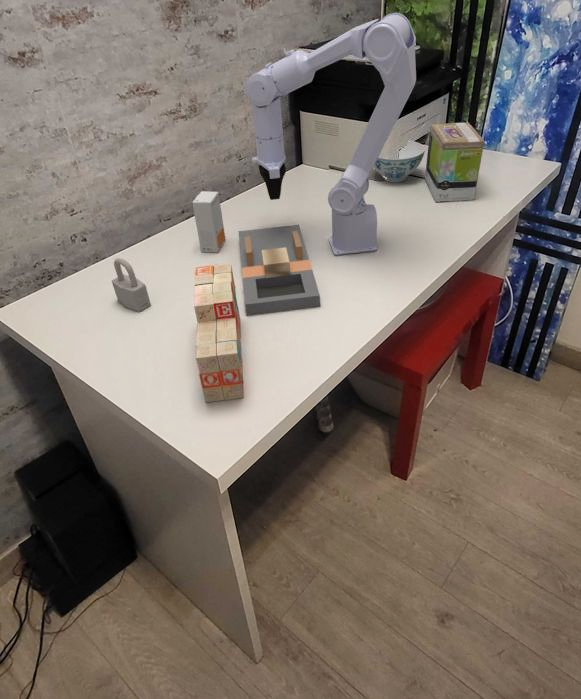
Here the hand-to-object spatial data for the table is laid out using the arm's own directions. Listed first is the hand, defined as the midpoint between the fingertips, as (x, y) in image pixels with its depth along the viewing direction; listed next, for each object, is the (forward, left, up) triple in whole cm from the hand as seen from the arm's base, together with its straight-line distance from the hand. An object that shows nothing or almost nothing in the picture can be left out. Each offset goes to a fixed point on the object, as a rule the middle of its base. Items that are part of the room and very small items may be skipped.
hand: (274, 198), depth 117 cm
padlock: (+31, +21, -10) cm, 39 cm away
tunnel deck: (+2, +15, -9) cm, 18 cm away
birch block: (+2, +19, -7) cm, 20 cm away
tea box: (-46, -15, -10) cm, 49 cm away
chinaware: (-35, -27, -10) cm, 45 cm away
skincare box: (+15, +1, -10) cm, 18 cm away
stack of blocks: (+14, +41, -10) cm, 45 cm away
